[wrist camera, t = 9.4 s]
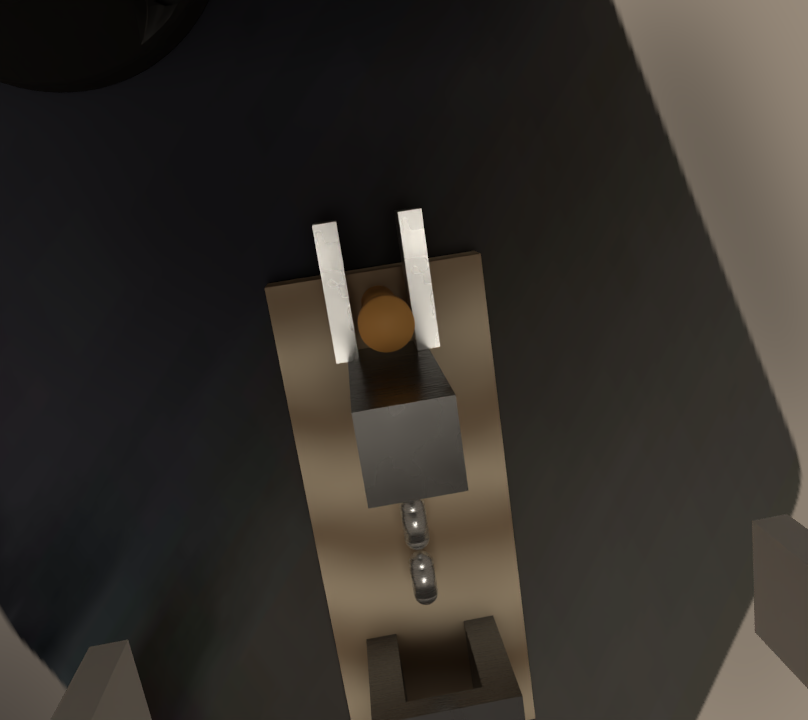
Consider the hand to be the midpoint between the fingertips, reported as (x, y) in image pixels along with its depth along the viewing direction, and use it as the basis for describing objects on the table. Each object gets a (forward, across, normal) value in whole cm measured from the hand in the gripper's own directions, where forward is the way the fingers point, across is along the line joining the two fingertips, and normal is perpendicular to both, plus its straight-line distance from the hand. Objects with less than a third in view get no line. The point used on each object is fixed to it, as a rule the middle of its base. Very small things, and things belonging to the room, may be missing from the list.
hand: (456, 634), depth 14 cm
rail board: (+21, 0, -7) cm, 22 cm away
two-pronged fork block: (+19, 0, -2) cm, 19 cm away
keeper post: (+19, 0, +4) cm, 20 cm away
